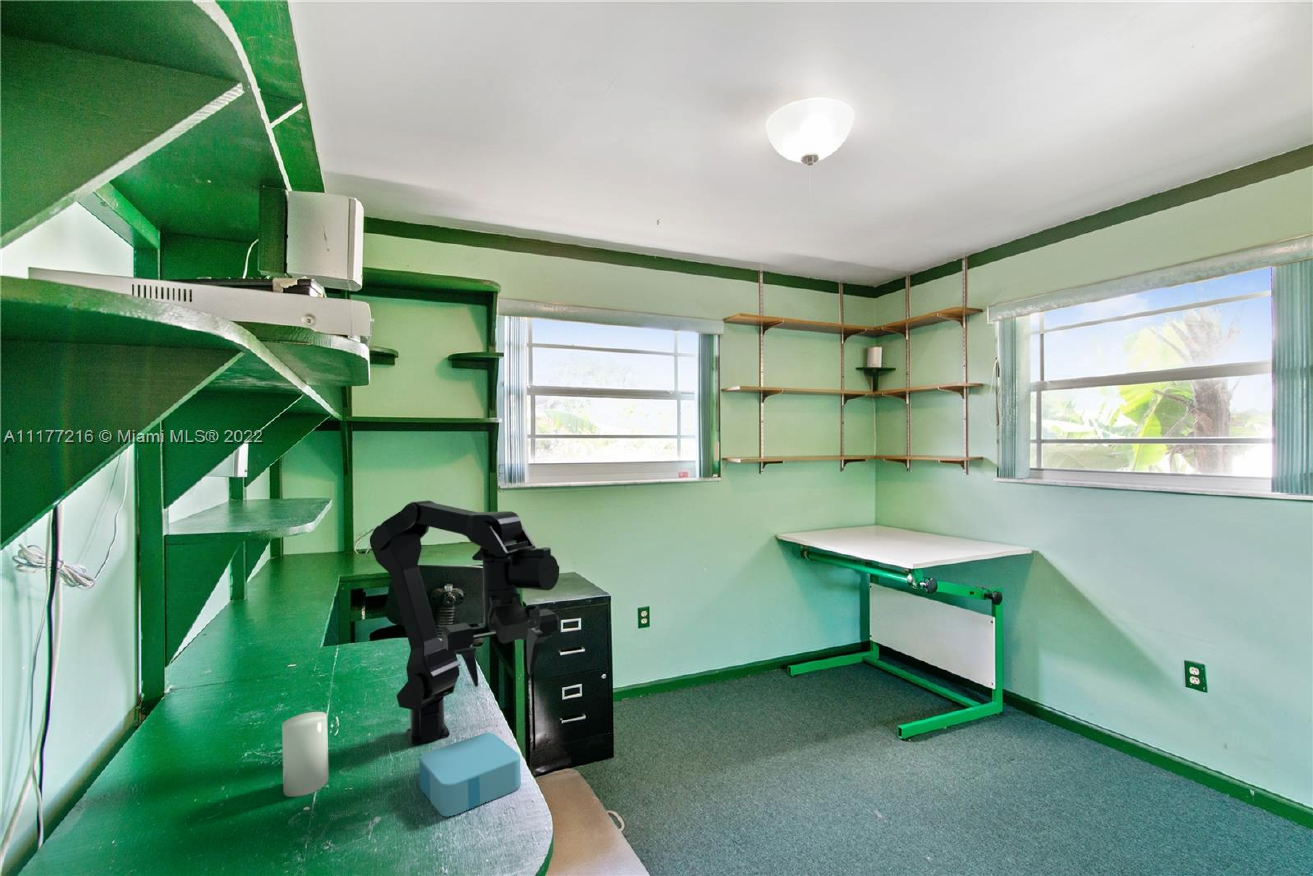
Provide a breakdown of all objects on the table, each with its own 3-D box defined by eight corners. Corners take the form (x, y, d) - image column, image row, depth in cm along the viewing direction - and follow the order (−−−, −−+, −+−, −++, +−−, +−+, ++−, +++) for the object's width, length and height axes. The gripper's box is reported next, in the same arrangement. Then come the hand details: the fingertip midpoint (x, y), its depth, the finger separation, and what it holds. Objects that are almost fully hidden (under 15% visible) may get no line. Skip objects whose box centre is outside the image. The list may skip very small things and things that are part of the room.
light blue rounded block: (444, 821, 81) (524, 787, 88) (443, 787, 81) (523, 756, 88) (417, 785, 90) (492, 758, 98) (416, 755, 90) (491, 730, 98)
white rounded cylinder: (283, 783, 92) (282, 718, 93) (327, 771, 95) (326, 708, 96) (282, 801, 87) (281, 732, 88) (329, 788, 90) (327, 722, 91)
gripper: (453, 604, 89) (457, 710, 88) (570, 586, 98) (573, 682, 97) (439, 592, 98) (442, 687, 98) (547, 576, 108) (550, 663, 107)
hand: (503, 680), depth 100 cm, fingers open, 9 cm apart
